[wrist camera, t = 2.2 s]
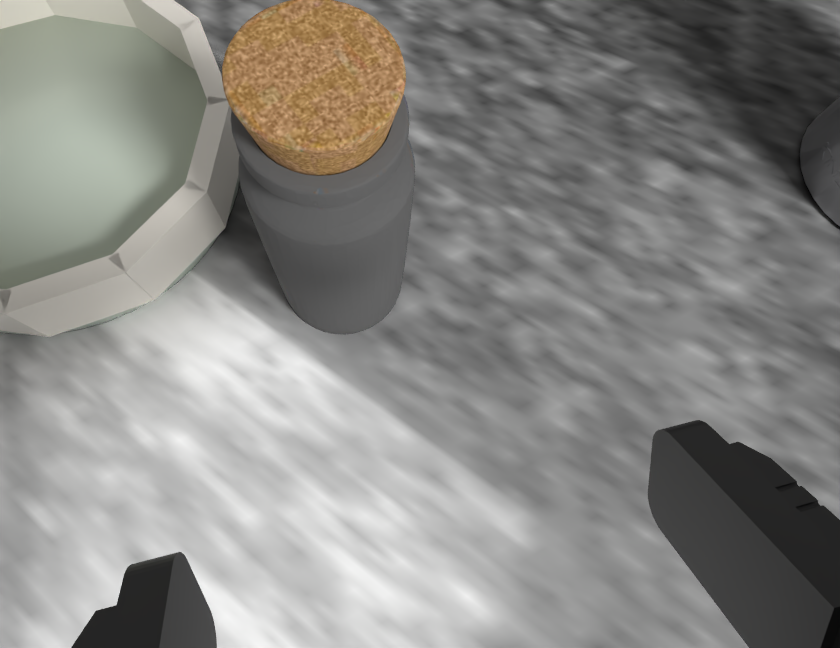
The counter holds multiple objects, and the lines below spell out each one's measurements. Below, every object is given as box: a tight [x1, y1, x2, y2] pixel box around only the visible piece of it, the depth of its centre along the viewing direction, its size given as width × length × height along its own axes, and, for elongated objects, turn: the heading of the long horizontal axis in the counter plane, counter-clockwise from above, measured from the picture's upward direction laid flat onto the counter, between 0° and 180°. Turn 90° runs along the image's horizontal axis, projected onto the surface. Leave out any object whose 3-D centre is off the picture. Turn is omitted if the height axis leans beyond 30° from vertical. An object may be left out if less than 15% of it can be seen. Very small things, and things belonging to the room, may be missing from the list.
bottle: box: [222, 0, 415, 334], centre depth 23 cm, size 6×6×15 cm
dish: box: [0, 0, 240, 337], centre depth 29 cm, size 18×18×4 cm
